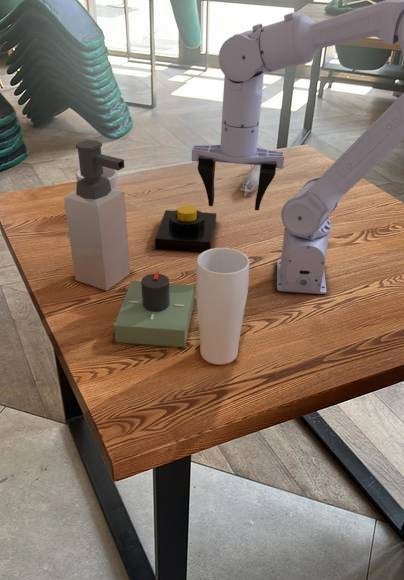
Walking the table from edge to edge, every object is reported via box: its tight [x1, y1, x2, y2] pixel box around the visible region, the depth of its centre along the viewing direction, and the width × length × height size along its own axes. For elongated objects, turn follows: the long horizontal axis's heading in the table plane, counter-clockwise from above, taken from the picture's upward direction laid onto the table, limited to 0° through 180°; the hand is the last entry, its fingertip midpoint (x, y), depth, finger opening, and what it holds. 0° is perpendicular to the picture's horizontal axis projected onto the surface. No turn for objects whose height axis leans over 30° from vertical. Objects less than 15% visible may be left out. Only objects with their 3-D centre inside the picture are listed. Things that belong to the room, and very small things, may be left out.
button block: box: [154, 209, 217, 253], centre depth 107 cm, size 12×10×4 cm
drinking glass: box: [195, 247, 251, 366], centre depth 76 cm, size 7×7×15 cm
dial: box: [140, 271, 170, 311], centre depth 83 cm, size 4×4×4 cm
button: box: [176, 205, 198, 222], centre depth 105 cm, size 4×4×2 cm
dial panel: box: [113, 280, 195, 348], centre depth 85 cm, size 12×10×3 cm
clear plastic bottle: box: [239, 165, 261, 197], centre depth 126 cm, size 18×5×7 cm, turn 161°
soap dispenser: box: [63, 139, 131, 291], centre depth 89 cm, size 6×9×22 cm
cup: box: [75, 167, 119, 190], centre depth 112 cm, size 11×8×8 cm
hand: (234, 205), depth 96 cm, fingers open, 7 cm apart
